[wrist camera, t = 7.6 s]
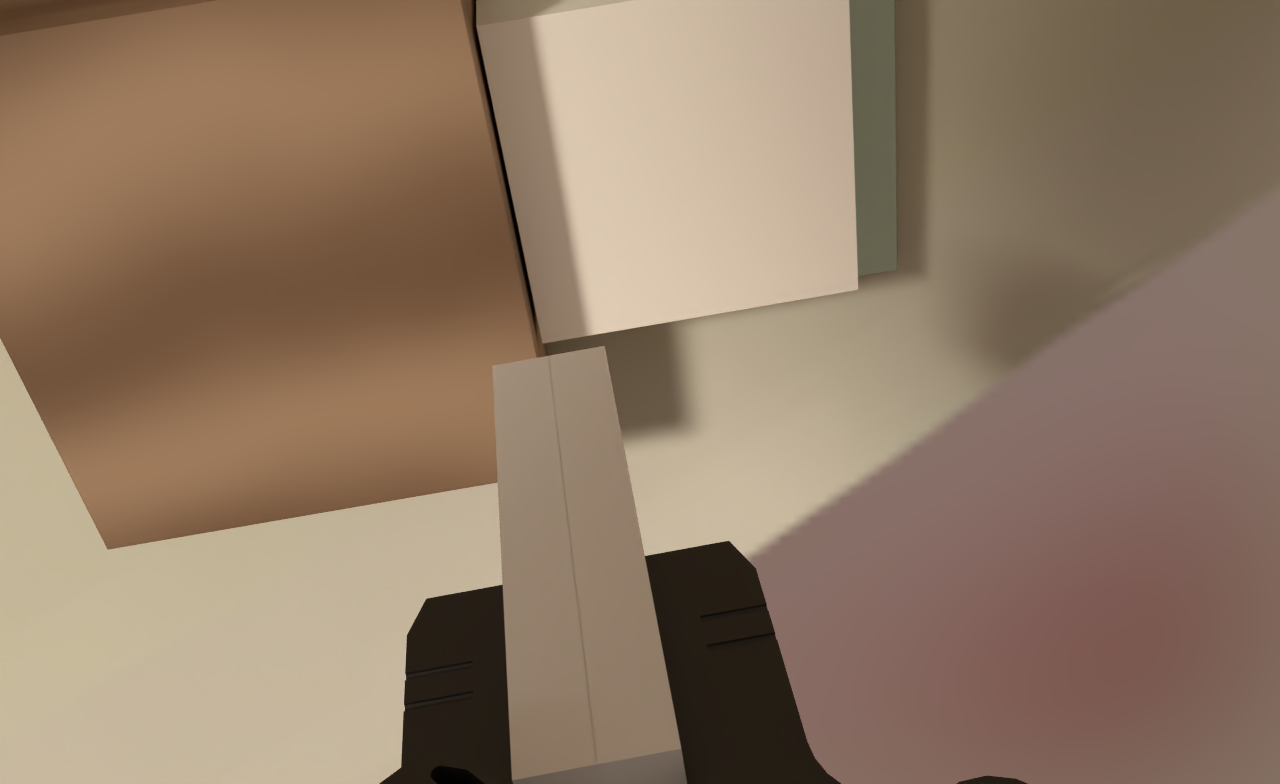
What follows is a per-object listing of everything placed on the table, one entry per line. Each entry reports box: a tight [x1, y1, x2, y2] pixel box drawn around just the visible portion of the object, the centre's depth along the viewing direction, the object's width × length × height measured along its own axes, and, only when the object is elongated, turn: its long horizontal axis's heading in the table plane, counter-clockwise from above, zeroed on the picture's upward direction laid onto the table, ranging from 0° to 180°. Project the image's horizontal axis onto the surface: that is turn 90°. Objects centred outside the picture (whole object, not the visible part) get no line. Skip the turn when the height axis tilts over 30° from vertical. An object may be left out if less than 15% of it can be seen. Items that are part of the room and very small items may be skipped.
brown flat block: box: [0, 0, 548, 549], centre depth 25 cm, size 11×10×4 cm
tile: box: [476, 0, 858, 344], centre depth 25 cm, size 7×7×2 cm
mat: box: [849, 0, 897, 276], centre depth 26 cm, size 10×8×1 cm
